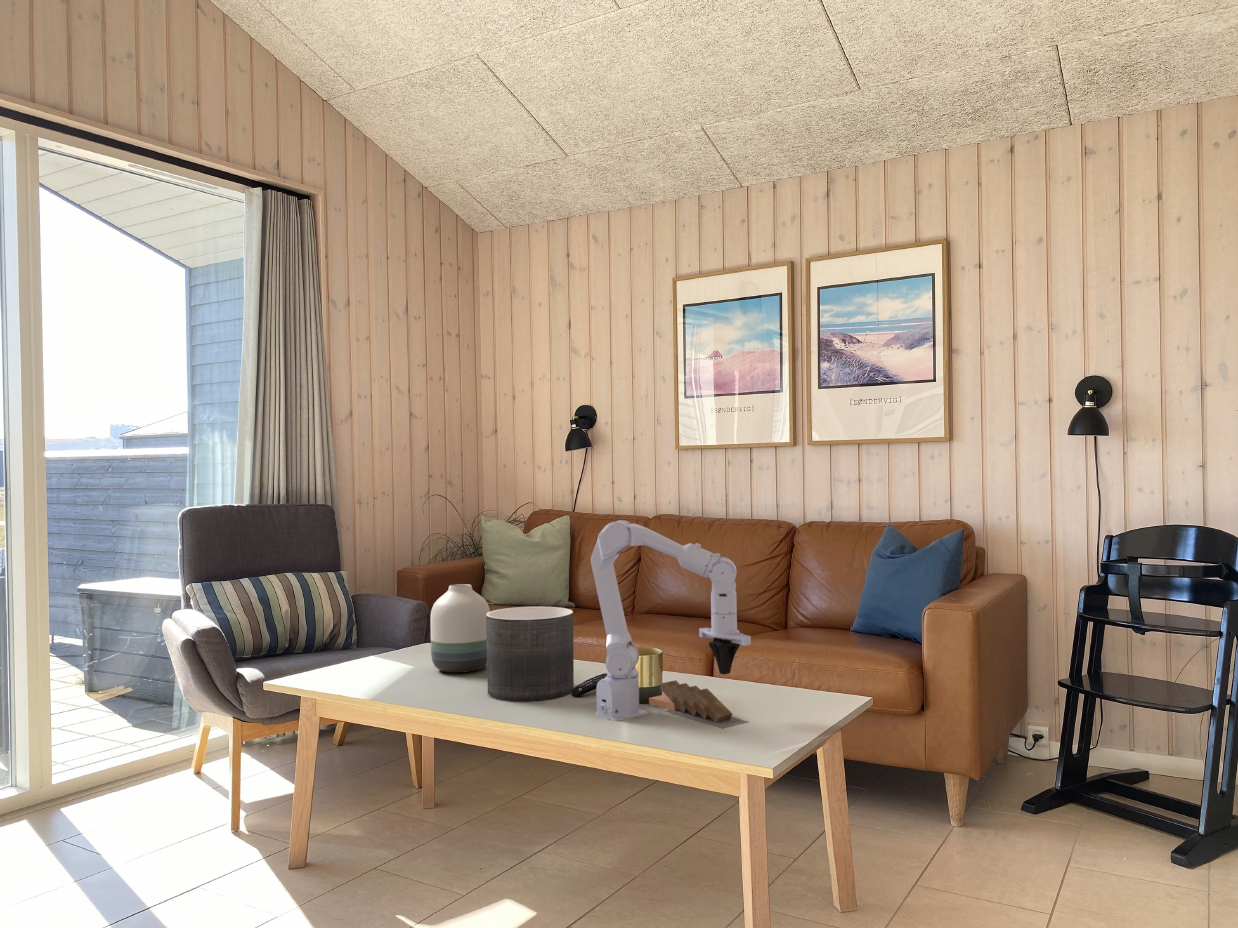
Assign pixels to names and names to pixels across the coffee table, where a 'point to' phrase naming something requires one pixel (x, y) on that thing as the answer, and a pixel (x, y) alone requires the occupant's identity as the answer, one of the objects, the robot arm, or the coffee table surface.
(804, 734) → the coffee table surface
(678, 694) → the walnut tile
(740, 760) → the coffee table surface
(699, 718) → the grey flat rectangular plate
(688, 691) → the walnut tile
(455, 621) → the vase
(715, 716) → the walnut tile
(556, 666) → the planter
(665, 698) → the terracotta tile
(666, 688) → the walnut tile
